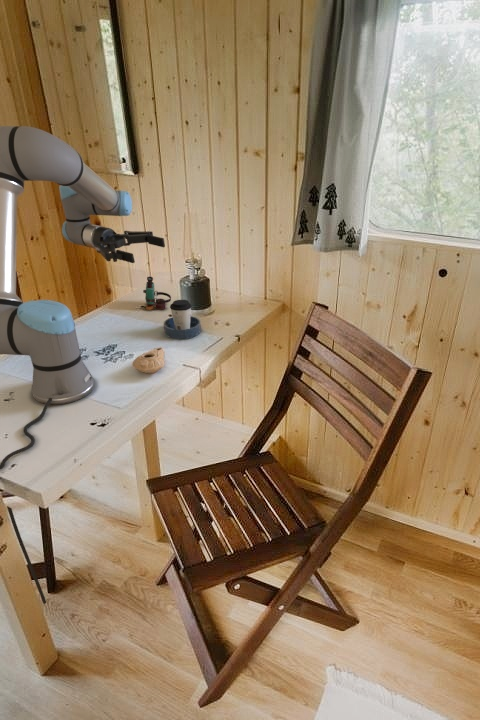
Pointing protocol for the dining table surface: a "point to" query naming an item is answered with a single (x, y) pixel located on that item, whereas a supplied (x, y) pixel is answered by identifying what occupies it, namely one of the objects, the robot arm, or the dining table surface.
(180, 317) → the coffee cup
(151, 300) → the green and brown piece
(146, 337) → the dining table surface
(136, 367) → the pottery oil lamp
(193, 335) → the bowl
